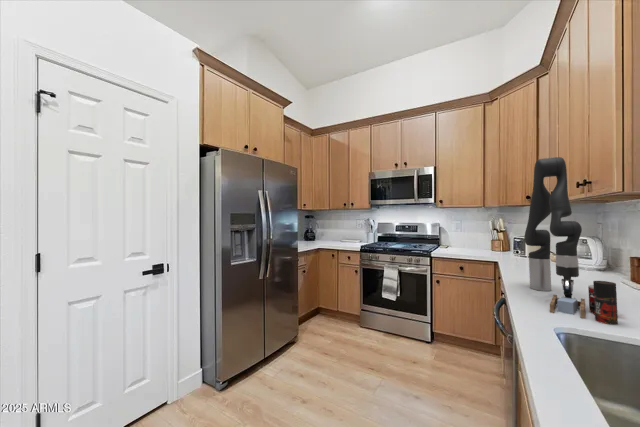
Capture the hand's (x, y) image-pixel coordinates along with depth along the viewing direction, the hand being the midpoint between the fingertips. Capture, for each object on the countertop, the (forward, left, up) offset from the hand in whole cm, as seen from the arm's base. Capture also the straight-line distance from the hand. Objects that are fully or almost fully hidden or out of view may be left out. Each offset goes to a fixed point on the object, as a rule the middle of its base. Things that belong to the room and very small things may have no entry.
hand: (568, 303), depth 118 cm
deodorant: (+14, +11, -2) cm, 18 cm away
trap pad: (0, 0, -1) cm, 1 cm away
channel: (+5, 0, -1) cm, 6 cm away
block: (+8, 0, -1) cm, 8 cm away
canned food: (+3, +10, -2) cm, 11 cm away
